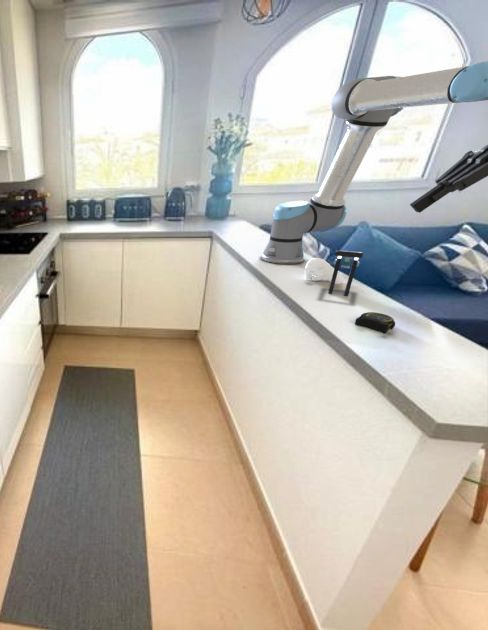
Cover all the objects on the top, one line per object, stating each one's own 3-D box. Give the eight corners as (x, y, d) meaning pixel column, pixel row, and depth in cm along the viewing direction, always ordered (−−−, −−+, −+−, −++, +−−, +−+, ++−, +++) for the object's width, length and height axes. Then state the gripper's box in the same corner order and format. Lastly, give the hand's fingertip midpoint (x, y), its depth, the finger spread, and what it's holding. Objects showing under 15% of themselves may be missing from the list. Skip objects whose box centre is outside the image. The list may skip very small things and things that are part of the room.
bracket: (352, 304, 103) (364, 263, 98) (320, 299, 108) (329, 260, 102) (354, 293, 111) (365, 254, 105) (324, 288, 115) (333, 251, 110)
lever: (361, 259, 93) (364, 250, 93) (334, 256, 97) (336, 248, 97) (357, 269, 104) (359, 261, 104) (333, 266, 108) (335, 259, 107)
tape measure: (351, 328, 90) (355, 315, 89) (365, 321, 93) (369, 309, 92) (382, 338, 85) (387, 325, 83) (396, 331, 88) (401, 317, 86)
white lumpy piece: (311, 254, 122) (352, 262, 114) (303, 277, 126) (343, 286, 118) (306, 259, 118) (348, 267, 110) (298, 281, 122) (338, 291, 114)
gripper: (570, 139, 71) (441, 223, 83) (515, 141, 83) (408, 214, 94) (549, 113, 71) (422, 201, 82) (496, 118, 82) (390, 195, 93)
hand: (414, 208), depth 88 cm, fingers closed
